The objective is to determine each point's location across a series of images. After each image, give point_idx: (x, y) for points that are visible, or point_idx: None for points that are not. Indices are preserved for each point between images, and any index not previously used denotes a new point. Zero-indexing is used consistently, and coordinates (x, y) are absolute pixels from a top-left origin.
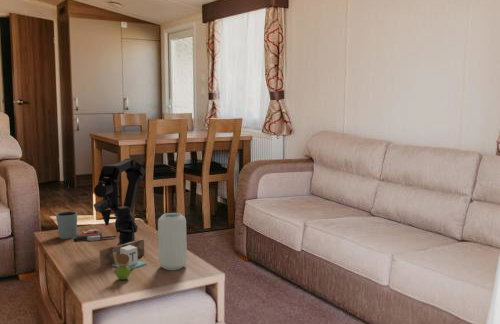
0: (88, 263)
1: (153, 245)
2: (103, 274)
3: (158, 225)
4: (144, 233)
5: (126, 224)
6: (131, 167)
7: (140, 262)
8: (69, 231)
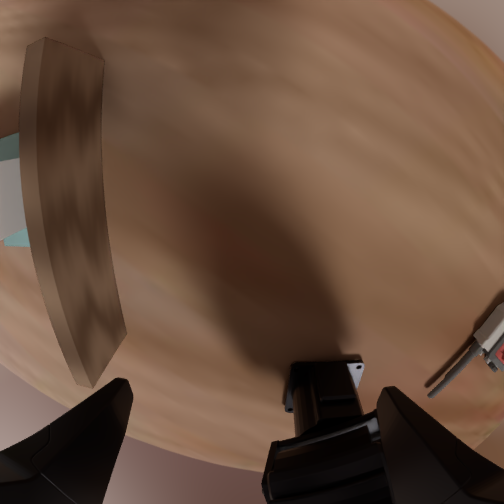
0: (206, 35)
1: (206, 422)
2: None
3: None
4: None
5: (285, 478)
6: None
7: (17, 235)
8: None
